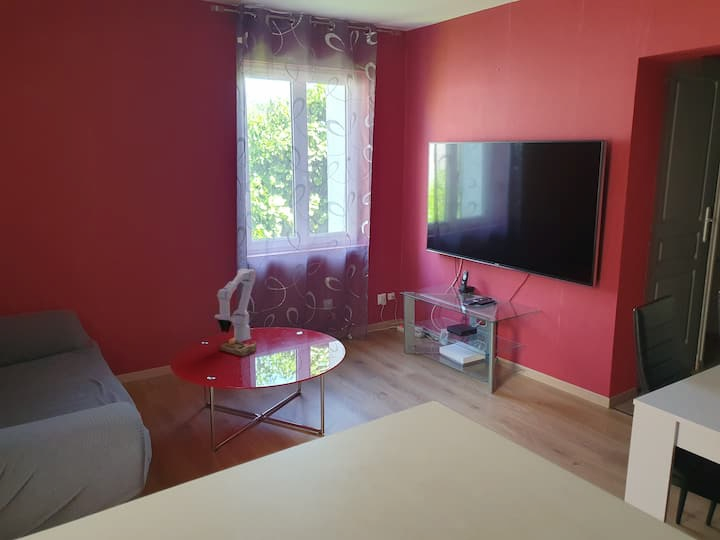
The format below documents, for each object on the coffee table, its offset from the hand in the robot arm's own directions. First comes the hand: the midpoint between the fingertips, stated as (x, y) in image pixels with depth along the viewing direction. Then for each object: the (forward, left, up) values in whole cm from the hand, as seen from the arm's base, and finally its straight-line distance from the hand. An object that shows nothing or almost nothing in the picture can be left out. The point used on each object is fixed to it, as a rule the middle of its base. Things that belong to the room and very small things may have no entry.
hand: (225, 331), depth 330 cm
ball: (0, +5, -5) cm, 7 cm away
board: (0, +10, -9) cm, 14 cm away
